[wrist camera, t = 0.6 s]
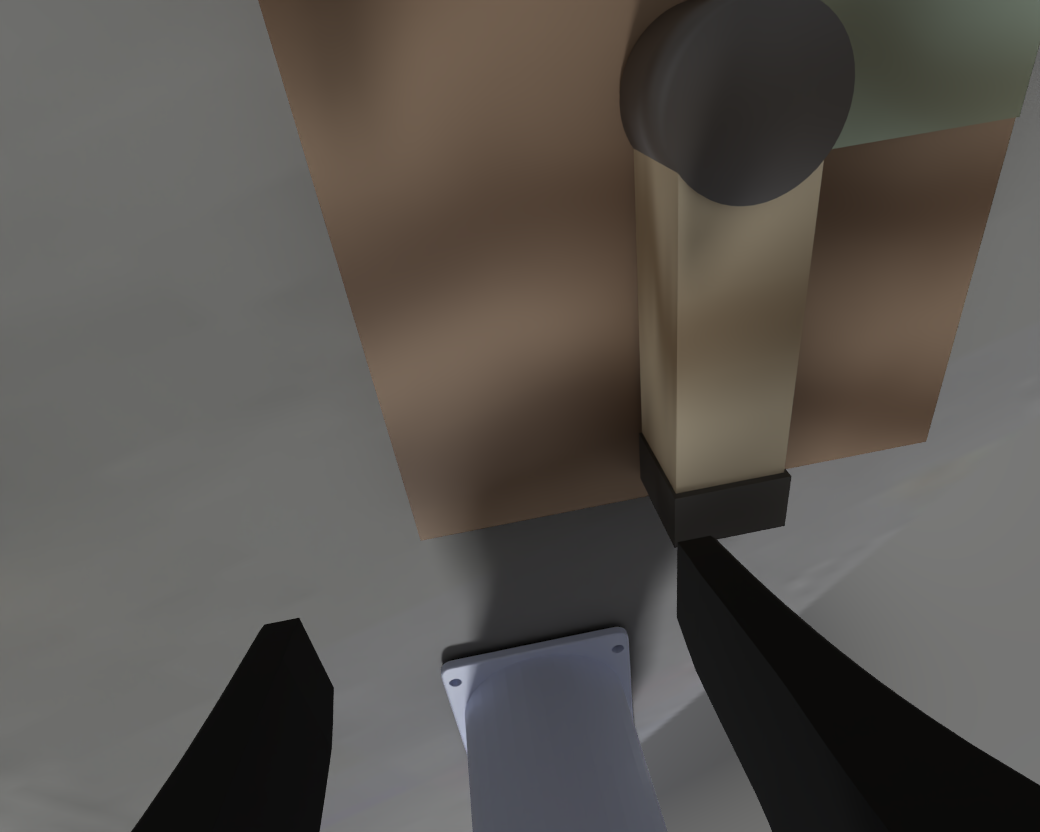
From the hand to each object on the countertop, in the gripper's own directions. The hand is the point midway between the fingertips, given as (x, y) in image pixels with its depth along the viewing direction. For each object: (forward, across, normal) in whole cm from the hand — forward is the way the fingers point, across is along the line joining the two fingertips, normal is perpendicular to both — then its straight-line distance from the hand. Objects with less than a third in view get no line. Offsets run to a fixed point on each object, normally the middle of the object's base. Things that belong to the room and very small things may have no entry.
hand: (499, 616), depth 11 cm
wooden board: (+9, -6, -4) cm, 12 cm away
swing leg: (+8, -7, -2) cm, 10 cm away
